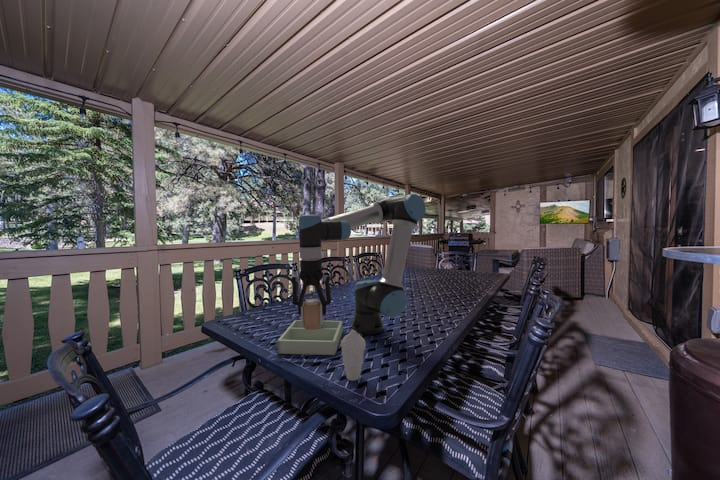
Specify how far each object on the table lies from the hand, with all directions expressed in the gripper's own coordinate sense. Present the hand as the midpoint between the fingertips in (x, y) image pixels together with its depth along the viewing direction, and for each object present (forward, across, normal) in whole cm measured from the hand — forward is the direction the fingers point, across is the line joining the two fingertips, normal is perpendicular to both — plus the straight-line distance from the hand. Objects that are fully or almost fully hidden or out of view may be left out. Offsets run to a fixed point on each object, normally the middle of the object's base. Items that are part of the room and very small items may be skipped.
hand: (312, 323), depth 96 cm
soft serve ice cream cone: (+15, -15, +8) cm, 23 cm away
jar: (+1, 0, 0) cm, 1 cm away
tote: (+15, +4, -15) cm, 22 cm away
